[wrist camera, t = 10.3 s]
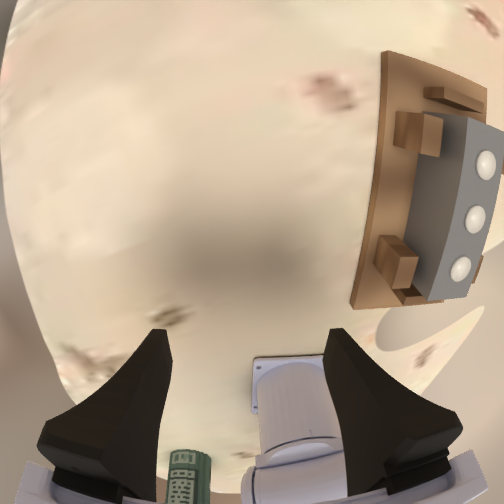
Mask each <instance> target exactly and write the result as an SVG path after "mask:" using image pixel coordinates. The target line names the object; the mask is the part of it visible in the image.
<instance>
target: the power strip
mask: <svg viewBox="0 0 504 504" xmlns="http://www.w3.org/2000/svg"><path fill="white" fill-rule="evenodd" d="M422 113H423V114H427V115H431V116H434V117H438V118H441V119H443V130H442V140H441V149H440V156H439V157H435V156H430V155H425V154H420V153H418V160H417V168H416V174H415V181H414V187H413V193H412V199H411V204H410V209H409V214H408V219H407V224H406V229H405V233H404V238H403V242H404V243H405V244H406V245H407V246H408V247H409V248H410V249H411V250H412V251H413V252H414V253H415V254H416V255H417V256H418V257H419V258H418V262H417V265H416V269H415V272H414V276H413V279H412V284H413V285H414V286H415V287H416V288H417V289H418V291H419V292H420V293H421V294H422V296H423V297H424V298H425V299H426V300H427V301H434V300H444V299H453V298H462V297H466V296H467V293H468V291H469V288H470V285H471V283H472V280H473V278H474V275H475V272H476V269H477V266H478V263H479V261H480V258H481V254H482V251H483V248H484V245H485V242H486V238H487V235H488V231H489V228H490V224H491V220H492V216H493V212H494V208H495V203H496V199H497V194H498V189H499V184H500V178H501V172H502V166H503V159H504V132H503V131H501V130H499V129H496V128H494V127H492V126H490V125H487V124H485V123H482V122H480V121H477V120H475V119H472V118H470V117H466V116H459V115H452V114H444V113H435V112H425V111H422Z"/></svg>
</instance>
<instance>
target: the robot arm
mask: <svg viewBox="0 0 504 504" xmlns="http://www.w3.org/2000/svg"><path fill="white" fill-rule="evenodd" d="M172 363H173V360H172V356H171V351H170V346H169V341H168V336H167V331H166V330H165V329H152V330H151V331H150V333H149V334H148V335H147V337H146V338H145V339H144V341H143V342H142V343H141V344H140V346H139V347H138V348H137V349H136V351H135V352H134V353H133V354H132V356H131V357H130V358H129V359H128V360H127V361H126V363H125V364H124V365H123V366H122V367H121V368H120V369H119V370H118V371H117V372H116V373H115V374H114V375H113V376H112V377H111V378H110V379H109V380H108V381H107V382H106V383H105V384H104V385H103V386H102V387H101V388H99V389H98V390H97V391H96V392H94V393H93V394H92V395H91V396H89V397H88V398H87V399H85V400H84V401H82V402H81V403H79V404H78V405H76V406H75V407H73V408H71V409H70V410H68V411H66V412H64V413H63V414H61V415H59V416H56V417H55V418H53V419H50V420H48V421H46V423H45V425H44V427H43V429H42V432H41V435H40V438H39V440H38V443H37V448H38V450H39V451H40V453H41V454H42V455H43V456H44V457H46V458H47V459H48V460H49V461H50V462H51V463H52V464H53V465H55V466H56V467H55V471H54V472H53V471H52V470H50V469H48V468H46V467H43V466H41V465H39V464H36V463H34V462H32V461H29V460H28V461H27V463H26V466H25V469H24V472H23V475H22V478H21V481H20V484H19V488H18V491H17V495H16V498H15V501H14V503H15V504H163V503H156V464H157V449H158V438H159V428H160V423H161V418H162V414H163V410H164V405H165V401H166V397H167V393H168V389H169V385H170V380H171V372H172ZM258 366H259V367H258ZM251 412H252V413H253V414H258V415H259V429H260V443H261V455H257V456H255V458H256V466H251V467H249V468H248V470H247V471H246V473H245V474H244V476H243V478H242V482H241V500H242V504H466V503H467V502H469V501H471V500H472V499H474V498H476V497H477V496H479V495H480V494H482V493H483V492H485V491H486V490H488V485H487V482H486V480H485V477H484V475H483V473H482V470H481V468H480V466H479V464H478V461H477V459H476V457H475V454H474V452H473V450H469V451H467V452H465V453H462V454H460V455H458V456H456V457H454V458H453V459H451V460H449V461H448V459H447V456H448V455H449V451H448V447H449V445H451V444H452V443H453V442H454V440H456V438H457V437H458V436H459V435H460V434H461V432H462V430H463V426H462V424H461V422H460V420H459V418H458V416H457V414H456V413H455V412H454V411H451V410H449V409H446V408H443V407H441V406H438V405H436V404H434V403H432V402H430V401H428V400H426V399H424V398H423V397H421V396H419V395H417V394H416V393H414V392H412V391H411V390H409V389H408V388H406V387H405V386H403V385H402V384H401V383H399V382H398V381H397V380H395V379H394V378H393V377H391V376H390V375H389V374H388V373H387V372H385V371H384V370H383V369H382V368H381V367H380V366H379V365H378V364H377V363H376V362H374V361H373V360H372V359H371V358H370V357H369V356H368V355H367V354H366V353H365V351H364V350H363V349H362V348H361V347H360V346H359V345H358V344H357V343H356V342H355V341H354V340H353V339H352V337H351V336H350V335H349V334H348V333H347V332H346V331H345V330H344V329H343V328H336V329H330V331H329V335H328V339H327V343H326V347H325V351H324V355H318V356H302V357H280V358H257V359H255V360H254V362H253V382H252V402H251Z"/></svg>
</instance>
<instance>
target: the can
mask: <svg viewBox="0 0 504 504" xmlns="http://www.w3.org/2000/svg"><path fill="white" fill-rule="evenodd" d="M210 480H211V458H210V457H209V456H208V455H207V454H204V453H203V452H199V451H195V450H194V451H190V450H177V451H173V452H172V453H171V456H170V464H169V472H168V481H167V490H166V500H165V504H210Z"/></svg>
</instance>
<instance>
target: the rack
mask: <svg viewBox="0 0 504 504" xmlns="http://www.w3.org/2000/svg"><path fill="white" fill-rule="evenodd" d="M486 110H487V88H485V87H483V86H481V85H479V84H477V83H475V82H472V81H470V80H468V79H466V78H464V77H461V76H459V75H457V74H455V73H452V72H450V71H447V70H445V69H442V68H440V67H437V66H435V65H432V64H429V63H426V62H424V61H421V60H418V59H415V58H412V57H409V56H406V55H402V54H399V53H396V52H392V51H389V50H387V51H384V52H382V63H381V97H380V114H379V128H378V139H377V150H376V159H375V168H374V176H373V183H372V191H371V197H370V204H369V210H368V217H367V222H366V228H365V234H364V239H363V244H362V250H361V255H360V259H359V264H358V269H357V274H356V278H355V282H354V287H353V291H352V295H351V299H350V304H351V306H352V308H353V310H358V309H374V308H387V307H400V306H411V305H421V304H432V303H442V302H444V300H445V299H444V300H434V301H427V300H426V299H425V298H424V297H423V296H422V294H421V293H420V292H419V291H418V289H417V288H416V287H415V286H414V285H413V284H412V279H413V276H414V272H415V269H416V265H417V262H418V258H419V257H418V256H417V255H416V254H415V253H414V252H413V251H412V250H411V249H410V248H409V247H408V246H407V245H406V244H405V243H404V242H403V238H404V233H405V229H406V224H407V219H408V214H409V209H410V204H411V199H412V193H413V187H414V181H415V174H416V168H417V160H418V153H420V154H425V155H430V156H435V157H439V156H440V149H441V140H442V130H443V119H441V118H438V117H434V116H431V115H427V114H423V113H422V111H425V112H435V113H444V114H452V115H459V116H466V117H470V118H472V119H475V120H477V121H480V122H482V123H485V124H486ZM501 174H504V159H503V166H502V172H501ZM482 260H483V256H482V255H481V258H480V261H479V263H478V266H477V269H476V272H475V275H474V278H473V280H472V283H475V280H476V277H477V275H478V272H479V269H480V266H481V263H482ZM472 283H471V284H472Z"/></svg>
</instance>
